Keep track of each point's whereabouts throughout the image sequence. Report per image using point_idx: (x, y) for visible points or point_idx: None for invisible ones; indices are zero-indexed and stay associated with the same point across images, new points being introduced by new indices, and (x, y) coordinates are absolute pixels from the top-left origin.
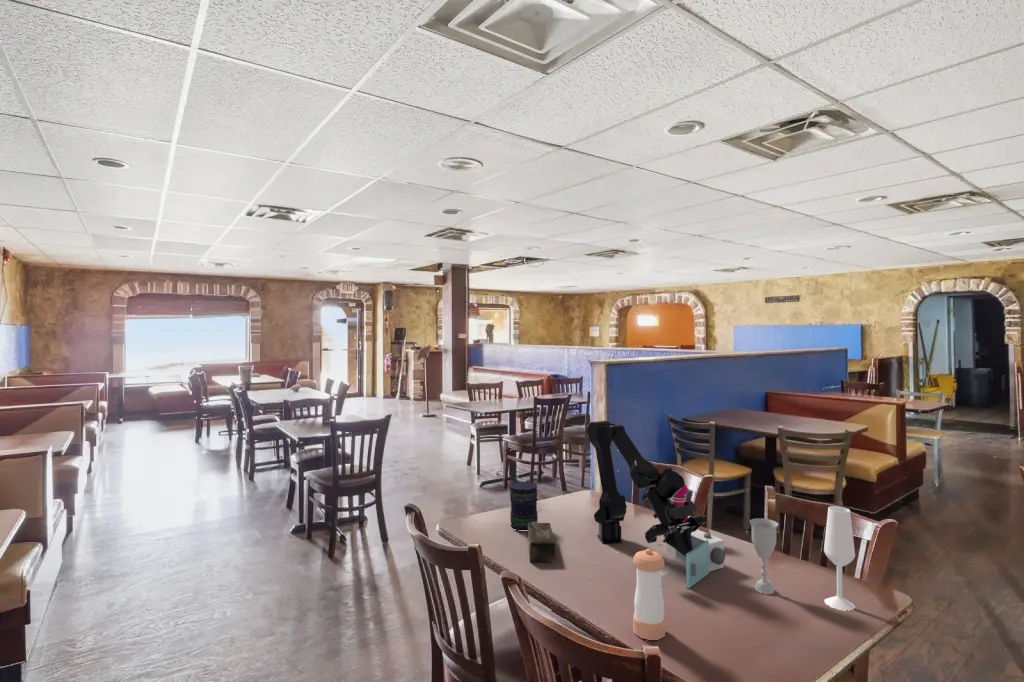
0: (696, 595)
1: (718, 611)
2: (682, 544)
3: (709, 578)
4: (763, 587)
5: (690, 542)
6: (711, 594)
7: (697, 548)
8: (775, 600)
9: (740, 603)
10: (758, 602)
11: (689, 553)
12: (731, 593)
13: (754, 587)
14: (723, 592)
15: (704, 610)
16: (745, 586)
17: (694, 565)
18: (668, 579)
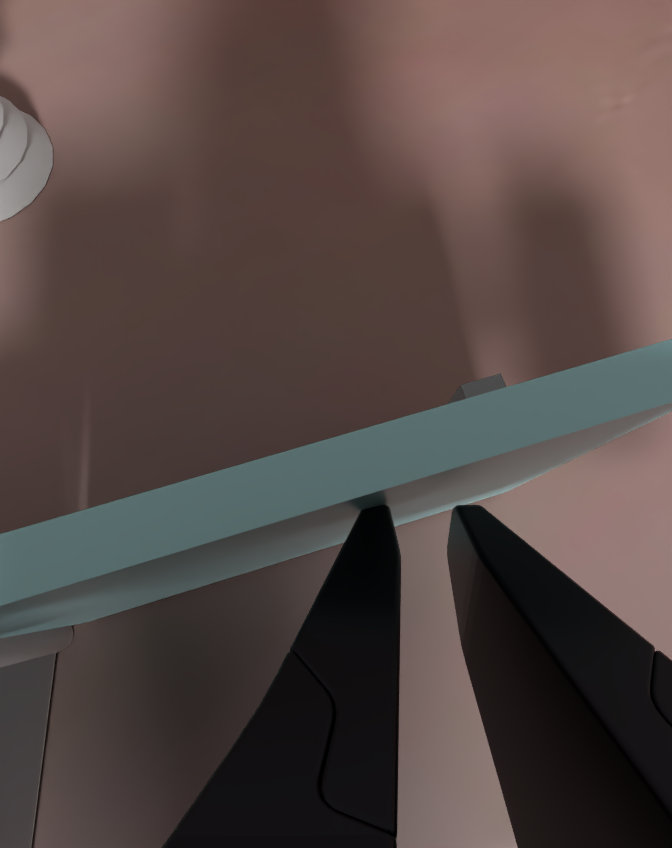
0: (515, 357)
1: (539, 135)
2: (654, 669)
3: None
4: (3, 106)
5: (333, 666)
6: (392, 311)
7: (294, 468)
8: (67, 50)
9: (313, 130)
10: (192, 85)
11: (641, 368)
12: (238, 247)
13: (7, 205)
14: (279, 287)
15: (620, 185)
16: (34, 267)
17: (499, 381)
18: None
